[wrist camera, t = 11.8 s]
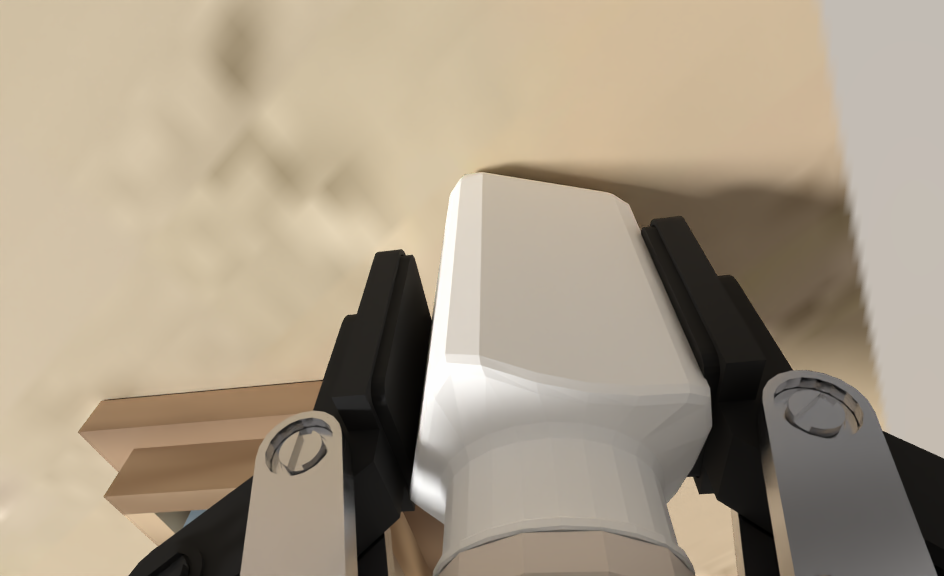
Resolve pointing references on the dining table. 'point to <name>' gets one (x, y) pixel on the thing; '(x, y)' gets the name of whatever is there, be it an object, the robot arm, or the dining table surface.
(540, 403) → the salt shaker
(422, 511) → the frame
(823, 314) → the dining table surface
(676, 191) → the dining table surface
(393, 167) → the dining table surface
